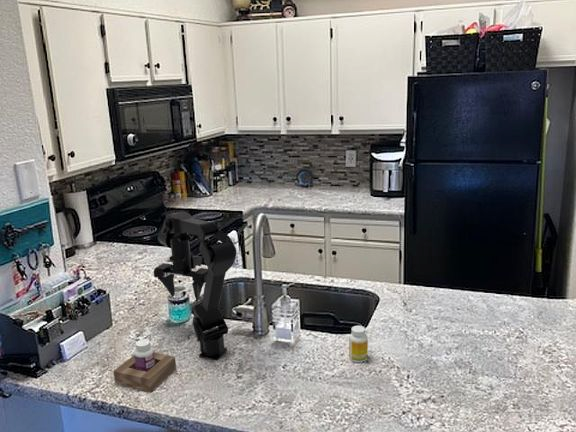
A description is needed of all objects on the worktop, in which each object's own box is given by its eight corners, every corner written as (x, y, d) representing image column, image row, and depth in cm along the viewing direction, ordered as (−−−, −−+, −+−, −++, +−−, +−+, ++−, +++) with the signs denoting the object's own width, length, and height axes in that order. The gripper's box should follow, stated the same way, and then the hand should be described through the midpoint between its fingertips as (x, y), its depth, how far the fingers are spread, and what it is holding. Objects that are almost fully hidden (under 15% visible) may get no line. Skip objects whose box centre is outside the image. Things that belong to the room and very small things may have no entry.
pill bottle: (151, 379, 145) (147, 348, 142) (133, 377, 146) (129, 346, 143) (159, 368, 150) (155, 338, 147) (142, 367, 151) (138, 337, 148)
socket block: (176, 369, 151) (174, 356, 150) (150, 392, 141) (149, 379, 140) (142, 361, 156) (140, 349, 155) (115, 383, 145) (113, 370, 144)
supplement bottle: (345, 356, 155) (345, 327, 152) (360, 351, 157) (360, 322, 154) (355, 364, 150) (355, 334, 147) (371, 360, 152) (371, 330, 150)
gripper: (219, 246, 167) (223, 291, 171) (170, 241, 174) (175, 284, 178) (201, 258, 157) (205, 305, 161) (150, 252, 164) (155, 297, 168)
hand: (185, 297), depth 168 cm, fingers open, 9 cm apart
